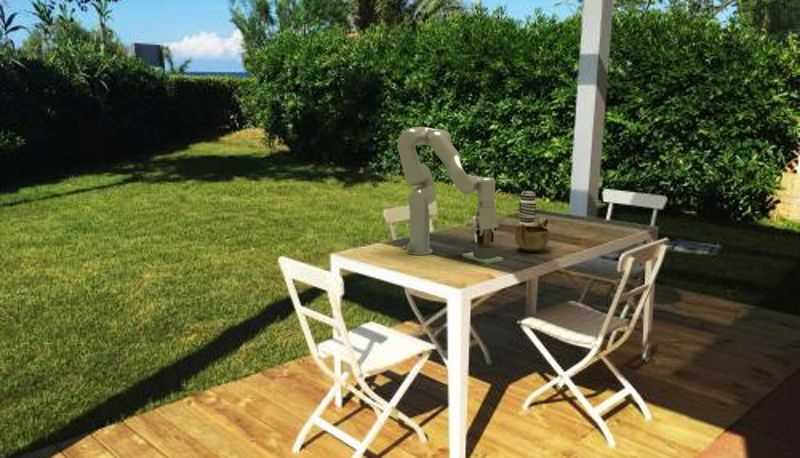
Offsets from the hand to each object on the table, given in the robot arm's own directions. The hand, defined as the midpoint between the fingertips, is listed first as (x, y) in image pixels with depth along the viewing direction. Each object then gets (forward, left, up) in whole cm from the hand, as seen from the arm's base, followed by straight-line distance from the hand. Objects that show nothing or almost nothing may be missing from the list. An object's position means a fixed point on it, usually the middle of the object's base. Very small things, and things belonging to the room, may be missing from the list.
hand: (485, 242), depth 309 cm
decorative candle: (+50, +22, -8) cm, 55 cm away
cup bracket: (0, +1, -8) cm, 8 cm away
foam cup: (+23, +28, -8) cm, 37 cm away
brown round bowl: (+31, 0, -8) cm, 32 cm away
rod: (0, 0, -7) cm, 7 cm away
